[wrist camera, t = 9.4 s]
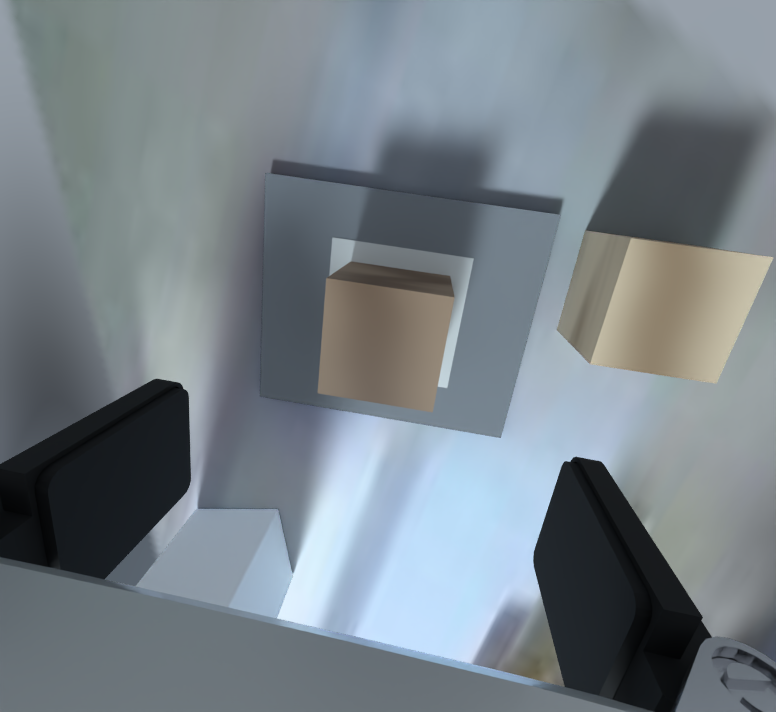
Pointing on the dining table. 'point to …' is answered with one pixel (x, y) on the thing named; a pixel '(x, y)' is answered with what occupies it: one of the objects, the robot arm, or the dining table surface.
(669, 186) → the dining table surface
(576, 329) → the oak block
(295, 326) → the mat
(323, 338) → the walnut block
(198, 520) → the milk
